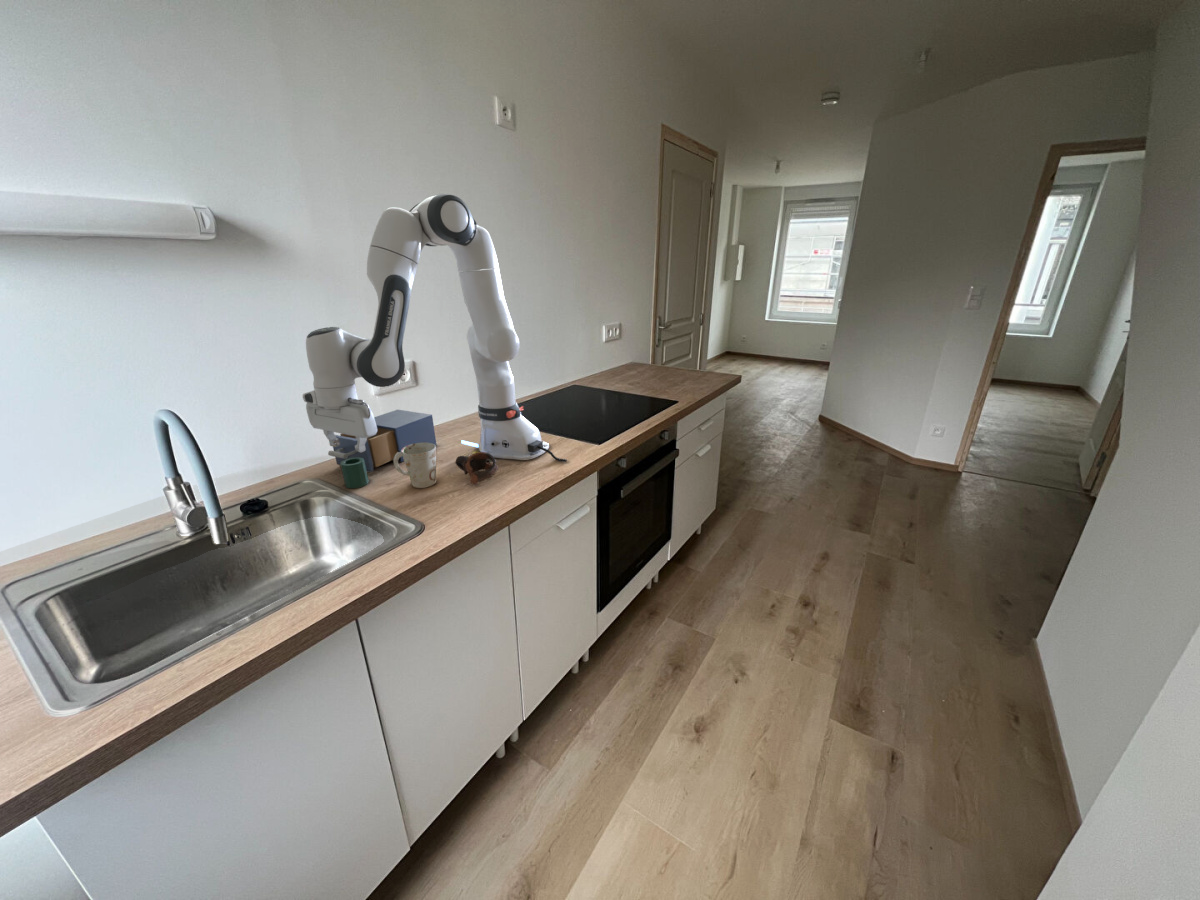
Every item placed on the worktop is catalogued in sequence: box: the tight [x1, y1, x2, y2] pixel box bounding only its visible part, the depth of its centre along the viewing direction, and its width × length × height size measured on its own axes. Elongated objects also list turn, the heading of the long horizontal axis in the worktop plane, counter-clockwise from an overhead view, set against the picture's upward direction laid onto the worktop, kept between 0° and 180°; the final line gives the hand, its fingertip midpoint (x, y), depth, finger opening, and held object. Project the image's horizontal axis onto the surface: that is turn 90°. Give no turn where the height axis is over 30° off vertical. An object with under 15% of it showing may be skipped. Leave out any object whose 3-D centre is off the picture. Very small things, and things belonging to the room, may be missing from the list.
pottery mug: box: [455, 451, 500, 486], centre depth 122 cm, size 12×10×8 cm
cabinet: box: [374, 409, 438, 463], centre depth 140 cm, size 15×15×11 cm
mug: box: [392, 443, 437, 489], centre depth 118 cm, size 8×13×10 cm, turn 78°
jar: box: [340, 457, 369, 489], centre depth 118 cm, size 5×5×6 cm
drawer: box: [327, 428, 398, 473], centre depth 129 cm, size 18×13×9 cm
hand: (347, 448), depth 116 cm, fingers open, 8 cm apart
